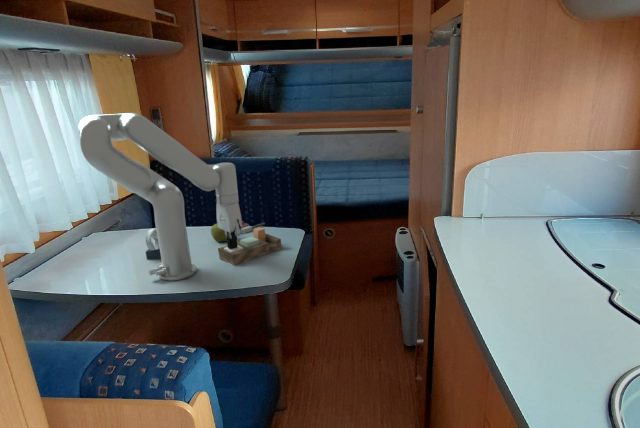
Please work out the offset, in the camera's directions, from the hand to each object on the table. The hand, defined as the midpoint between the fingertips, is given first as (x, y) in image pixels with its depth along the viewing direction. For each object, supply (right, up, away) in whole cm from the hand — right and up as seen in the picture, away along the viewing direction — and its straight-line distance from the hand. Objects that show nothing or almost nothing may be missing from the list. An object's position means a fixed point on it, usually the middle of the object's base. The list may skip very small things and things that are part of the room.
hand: (232, 247), depth 169 cm
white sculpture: (-30, -4, +8) cm, 32 cm away
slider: (+8, +2, +12) cm, 15 cm away
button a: (0, -3, +1) cm, 3 cm away
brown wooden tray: (+6, -3, +6) cm, 9 cm away
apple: (-8, +1, +21) cm, 23 cm away
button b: (+6, 0, +5) cm, 8 cm away
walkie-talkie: (-2, +4, +33) cm, 33 cm away
